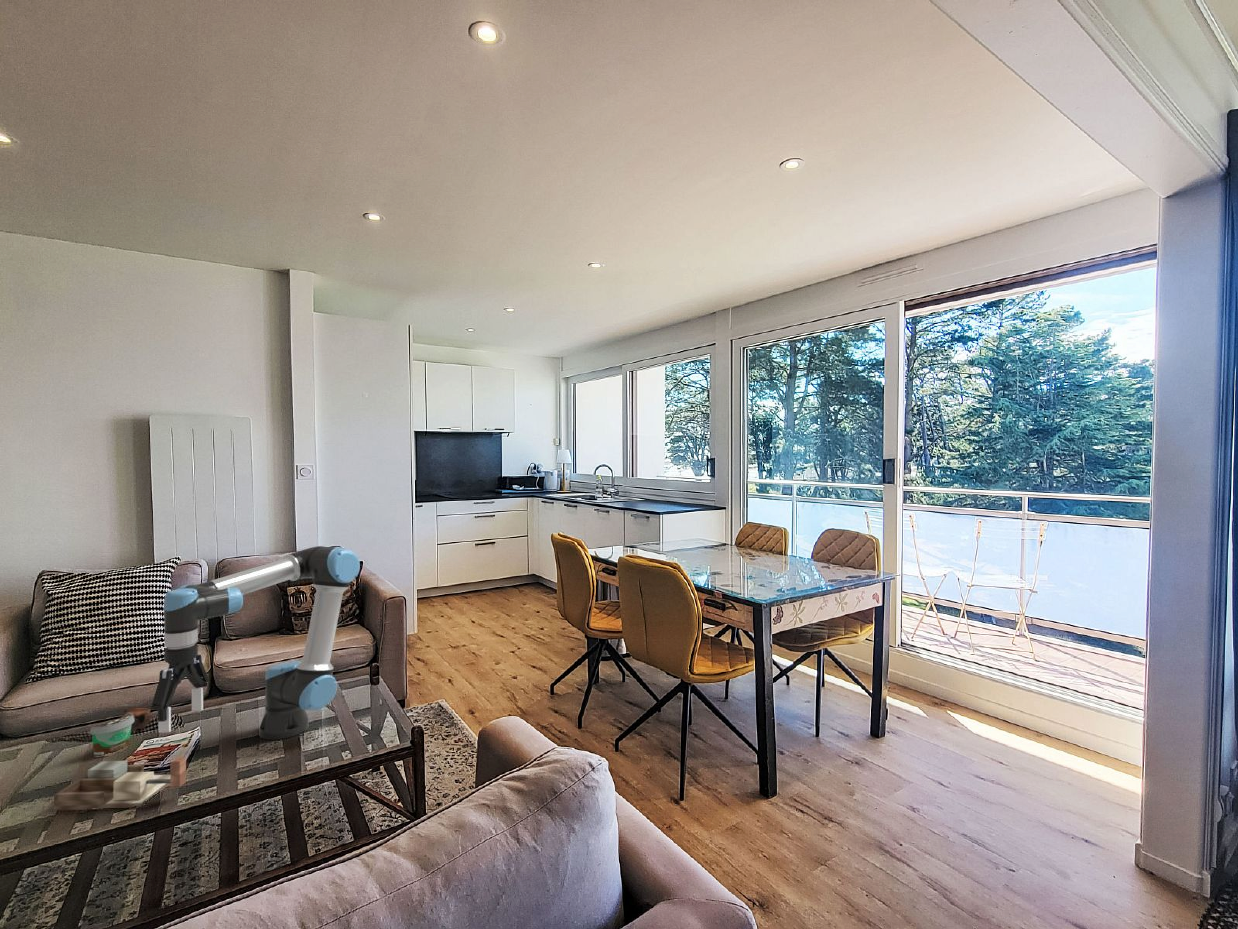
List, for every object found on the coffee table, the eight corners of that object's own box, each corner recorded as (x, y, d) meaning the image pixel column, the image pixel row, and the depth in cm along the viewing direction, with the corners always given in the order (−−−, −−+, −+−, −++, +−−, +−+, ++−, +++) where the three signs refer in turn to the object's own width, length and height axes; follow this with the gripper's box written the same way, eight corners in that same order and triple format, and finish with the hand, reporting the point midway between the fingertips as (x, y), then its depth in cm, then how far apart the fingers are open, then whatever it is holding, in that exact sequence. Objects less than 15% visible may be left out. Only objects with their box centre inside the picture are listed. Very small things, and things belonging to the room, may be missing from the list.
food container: (104, 761, 183) (105, 729, 183) (89, 759, 184) (89, 727, 184) (144, 743, 195) (144, 713, 195) (129, 741, 196) (129, 711, 196)
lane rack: (179, 778, 174) (179, 757, 174) (139, 808, 158) (139, 785, 158) (101, 779, 173) (101, 758, 173) (53, 810, 157) (54, 787, 157)
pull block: (188, 788, 166) (189, 754, 166) (176, 798, 161) (176, 763, 161) (127, 790, 165) (128, 756, 165) (113, 800, 160) (113, 765, 160)
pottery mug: (107, 736, 201) (114, 710, 205) (134, 737, 209) (140, 713, 213) (135, 730, 199) (142, 704, 203) (161, 732, 207) (167, 707, 211)
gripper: (196, 632, 177) (196, 702, 177) (133, 660, 152) (134, 742, 152) (222, 631, 177) (222, 701, 177) (163, 660, 152) (164, 741, 152)
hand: (181, 720), depth 165 cm, fingers open, 13 cm apart
